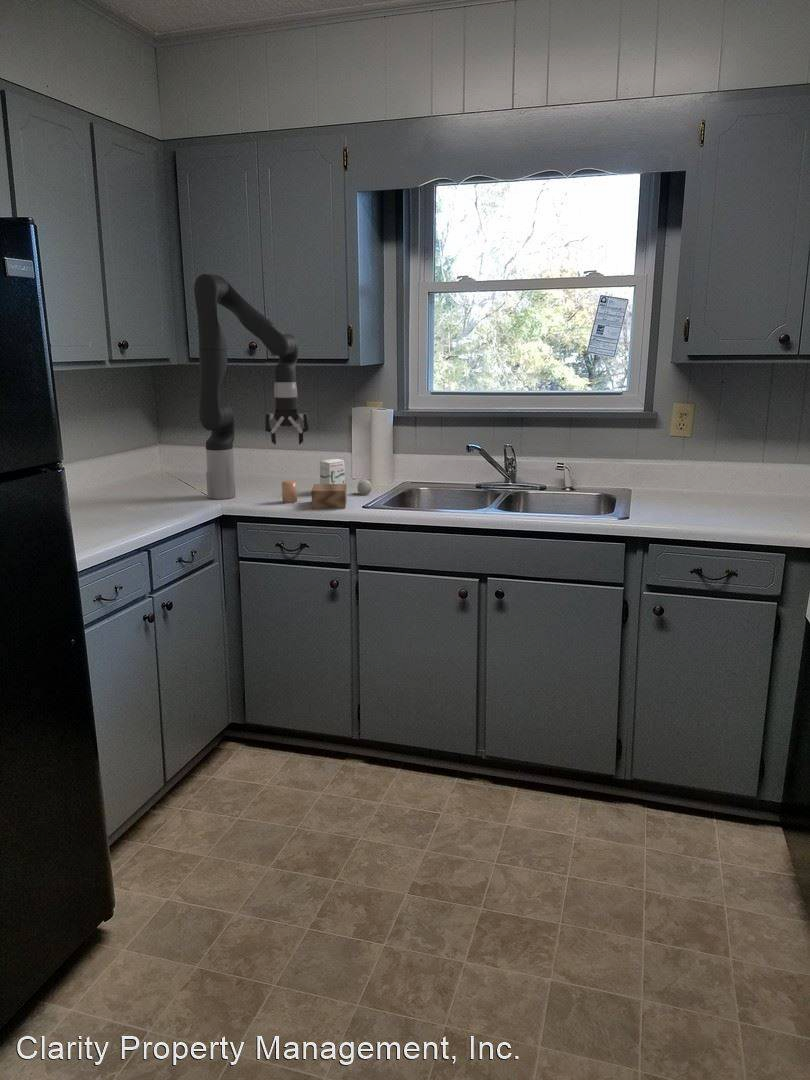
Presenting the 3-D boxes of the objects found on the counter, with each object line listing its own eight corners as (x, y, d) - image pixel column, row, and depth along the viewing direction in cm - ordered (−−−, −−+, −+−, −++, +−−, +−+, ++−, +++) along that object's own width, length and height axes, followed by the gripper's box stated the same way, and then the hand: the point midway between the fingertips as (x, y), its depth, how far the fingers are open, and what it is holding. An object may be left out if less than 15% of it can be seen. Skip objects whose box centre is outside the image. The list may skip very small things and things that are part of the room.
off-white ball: (373, 491, 286) (373, 488, 290) (367, 479, 284) (367, 476, 289) (361, 497, 286) (361, 495, 291) (354, 485, 285) (354, 483, 289)
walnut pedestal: (312, 508, 264) (311, 491, 262) (314, 501, 276) (314, 484, 274) (345, 508, 264) (344, 490, 263) (346, 501, 276) (346, 483, 274)
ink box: (330, 495, 286) (329, 462, 283) (319, 493, 289) (318, 461, 286) (346, 491, 293) (345, 459, 290) (335, 490, 296) (334, 458, 293)
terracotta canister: (281, 503, 272) (280, 483, 270) (283, 500, 277) (282, 480, 275) (296, 503, 272) (295, 483, 271) (297, 500, 277) (297, 480, 275)
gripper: (263, 396, 262) (265, 445, 266) (306, 396, 262) (307, 445, 267) (265, 394, 269) (267, 442, 273) (308, 394, 270) (309, 442, 274)
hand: (287, 444), depth 270 cm, fingers open, 8 cm apart
